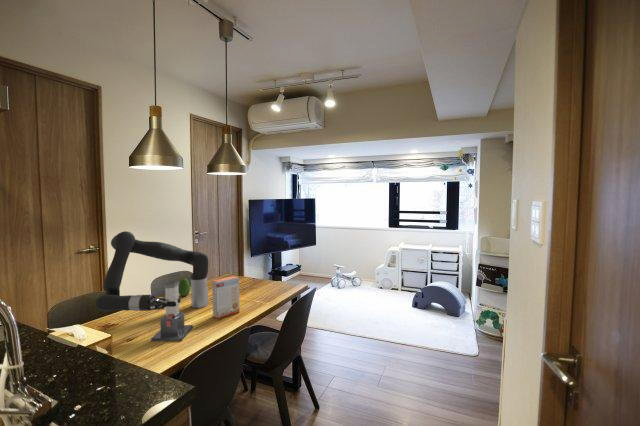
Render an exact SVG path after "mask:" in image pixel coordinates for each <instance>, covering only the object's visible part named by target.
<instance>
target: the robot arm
mask: <svg viewBox="0 0 640 426" xmlns="http://www.w3.org/2000/svg"><path fill="white" fill-rule="evenodd" d="M110 245H111V247H112V248H113V249H114V254H113V258H112V260H111V263H110V265H109V266H108V269H107V272H106V275H105V277H104V282H103V285H102V288H103V290H104V292H105V294H104V295H100V296H99V297H97V298H96V299H95V301H94V306H95V308H96V309H97V310H99V311H103V312H113V311H115V310H119V311H134V312H135V311H136V312H147V311H148V312H150V311H155V310H156V311H157V310H164V309H165V308H166V307H175V306H176V302H166V298H165V295H162V297H160V296H159V297H155V295H154V294H135V295H133V294H132V295H121V291H120V289H121V288H120V287H121V284H122V280H123V277H124V272H125V269H126V265H127V262H128V259H129V255H130V253H133V254H139V255H142V256H146V257H150V258H154V259H158V260H163V261H166V262H167V261H169V262H181V263H185V264H188V265H190V266H192V273H191V274H190V294H191V295H190V301H191V306H190V307H191V308H194V309H201V308H204V307H206V306H208V304H209V288H208V274H209V257H208V255H207V254H206V253H203V252H200V251H195V250H194V251H193V250H189V249H188V250H186V249H183V248H181V247H178V246H176V245H172V244H169V243H167V242H166V243H165V242H161V241H145V240H140V239H139V240H138V239H136V237H135V235H134V234H133V233H132V232H130V231H126V230H125V231H122V232H119V233H117V234H116V235H115V236H113V238H112V239H111V240H110ZM180 303H181V297H179V304H180Z"/></svg>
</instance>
